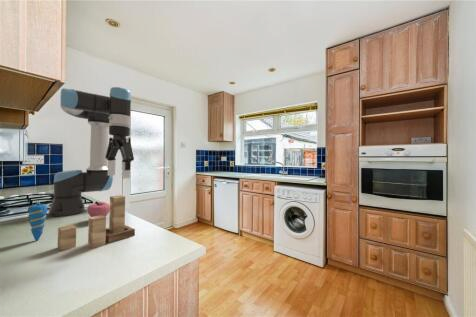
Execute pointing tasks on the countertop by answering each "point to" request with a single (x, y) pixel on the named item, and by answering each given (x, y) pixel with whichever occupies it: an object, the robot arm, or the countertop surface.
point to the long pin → (117, 214)
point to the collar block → (119, 234)
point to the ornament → (37, 219)
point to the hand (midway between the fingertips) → (118, 176)
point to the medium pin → (97, 231)
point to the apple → (98, 209)
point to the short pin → (66, 237)
